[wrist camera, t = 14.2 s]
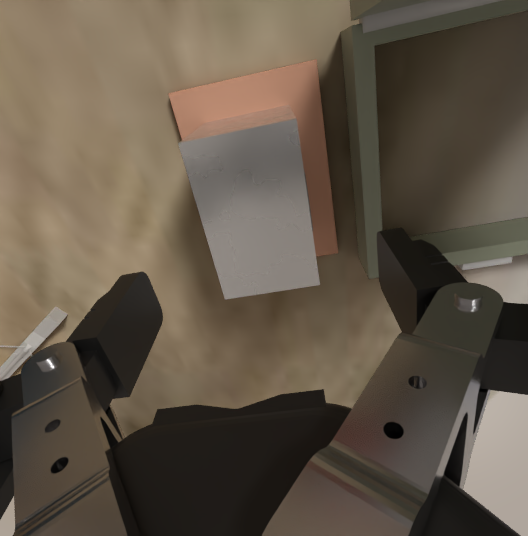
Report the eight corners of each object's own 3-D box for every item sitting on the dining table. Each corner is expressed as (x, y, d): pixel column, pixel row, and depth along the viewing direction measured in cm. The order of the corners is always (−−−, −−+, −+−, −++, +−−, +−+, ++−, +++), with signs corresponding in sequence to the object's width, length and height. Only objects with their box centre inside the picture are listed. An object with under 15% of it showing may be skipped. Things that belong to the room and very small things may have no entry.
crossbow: (42, 423, 37) (30, 442, 36) (-80, 358, 33) (-101, 375, 31) (127, 351, 31) (117, 369, 29) (-12, 258, 27) (-33, 273, 25)
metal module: (290, 104, 20) (298, 118, 14) (309, 230, 24) (321, 284, 18) (203, 122, 21) (175, 143, 15) (235, 243, 25) (223, 299, 19)
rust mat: (315, 59, 20) (316, 59, 19) (337, 249, 25) (338, 252, 25) (170, 92, 21) (168, 93, 20) (222, 268, 26) (221, 272, 26)
